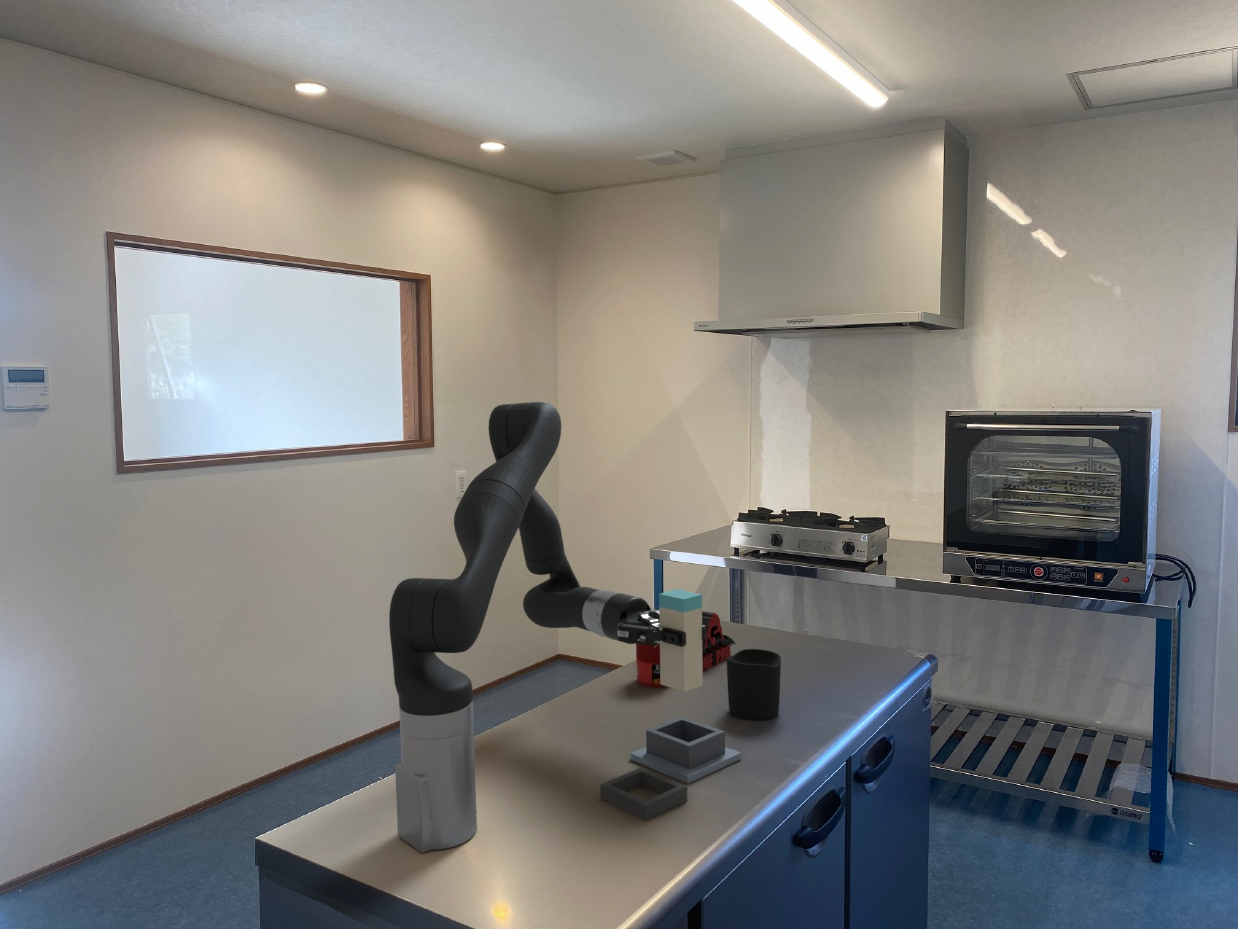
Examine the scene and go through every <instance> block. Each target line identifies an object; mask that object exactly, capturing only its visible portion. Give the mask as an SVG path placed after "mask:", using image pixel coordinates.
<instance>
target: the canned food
mask: <svg viewBox="0 0 1238 929" xmlns="http://www.w3.org/2000/svg"><path fill="white" fill-rule="evenodd" d="M635 655H636V656H635V657H636V661H635V662H636V679H637V682H638V684H640V686H644V687H648V688H655V689H657V688H659V689H660V688H668V686H665V685H661V684H660V643H657V642H654V644H653V645H644V644H635Z"/></svg>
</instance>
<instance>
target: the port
mask: <svg viewBox="0 0 1238 929" xmlns="http://www.w3.org/2000/svg"><path fill="white" fill-rule="evenodd" d="M645 740H646V742H645V744H646V746H645V747H643V748H640V749H637V750H635V751H633V752H630V760H631V761H633V762H636V763H638V764H641V765H643V766H645V767H648V768H650V769H653V770H654V771H657V772H659V773H662V774H664V775H666V776H669V777H671V778H673V779H676V780H679V781H680V782H683V783H685V784H691V783H692V782H694V781H697V780H699V779H702V778H703V777H705V776H707V775H710V774H712V773H714V772H717V771H718V770H720V769H723V768H725V767H727V766H730V765H732V764H733V763H736V762H738V761H740V760H742V752H741V751H738V750H735V749H732V748H729V747H726V731H724V730H721V729H719V728H716V727H713V726H710V725H709V724H708V725H707V724H705V723H702V722H699V721H696V720H693V719H691V718H687V717H685V716H679V717H676V718H673V719H671V720H669V721H666V722H664V723H661V724H659V725H655V726H654V727H650V728H648V729H646V730H645Z"/></svg>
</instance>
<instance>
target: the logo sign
mask: <svg viewBox="0 0 1238 929" xmlns="http://www.w3.org/2000/svg"><path fill="white" fill-rule="evenodd" d="M702 625H705V626H706V628H707V638H706V639H705V640H702V673H703V672H705V671H706V670H709V669H711V668H713V667H715V666H716V665H719V663H723V662H725V661H726V657H731V646H733V645H736V642H735V640H734V639H733V638H731V637H730V636H728V635H726V634H723V629H722V625H721V619H720V617H719V615H718V614H716V612H709V611H705V610H704V611H703V610H702Z"/></svg>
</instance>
